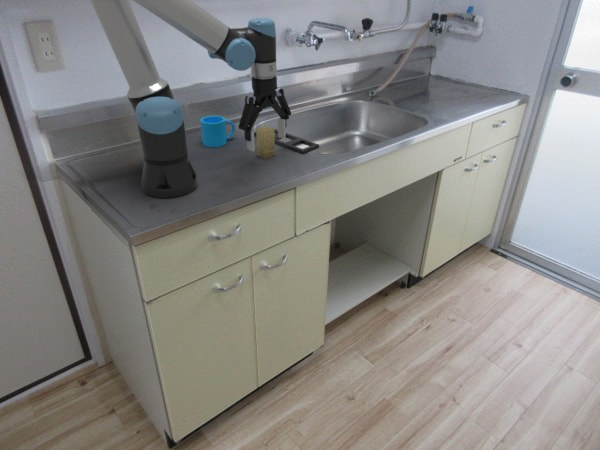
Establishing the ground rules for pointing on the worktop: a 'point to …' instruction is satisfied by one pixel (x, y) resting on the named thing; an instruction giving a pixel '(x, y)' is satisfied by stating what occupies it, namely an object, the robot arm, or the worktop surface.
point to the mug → (215, 131)
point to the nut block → (265, 142)
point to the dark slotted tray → (294, 143)
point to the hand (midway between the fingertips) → (266, 143)
